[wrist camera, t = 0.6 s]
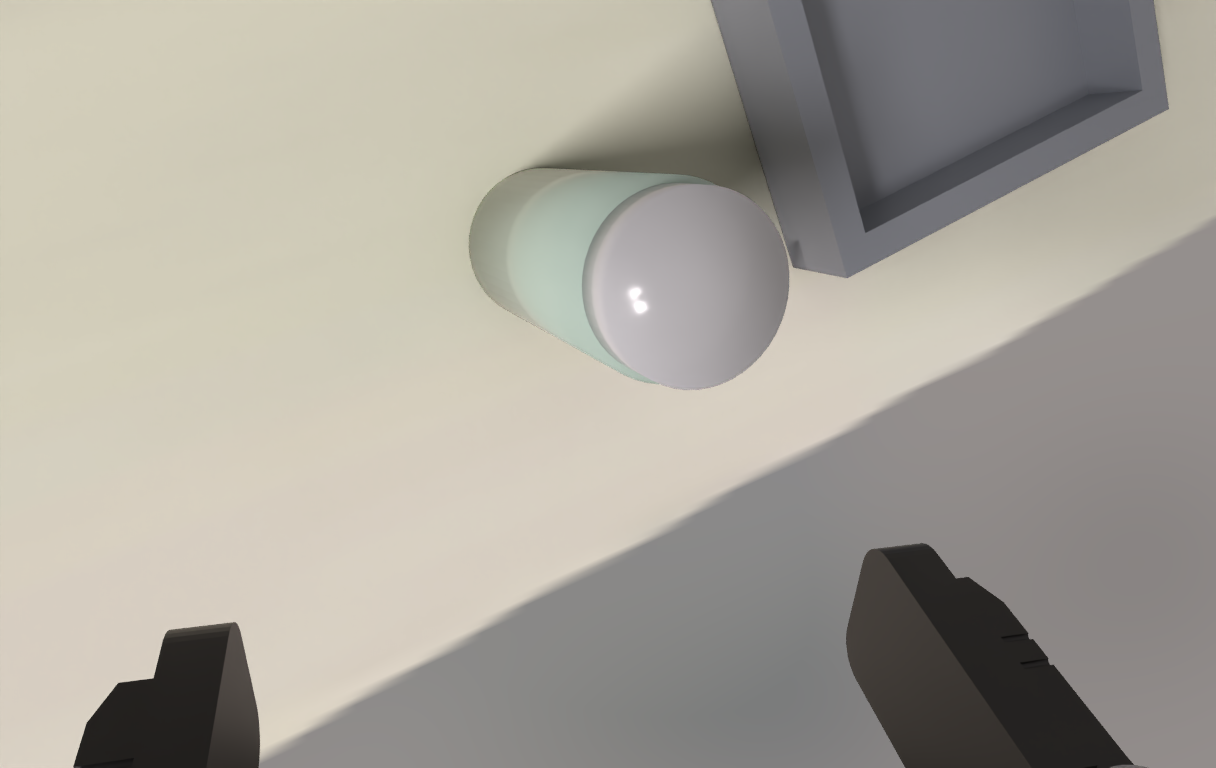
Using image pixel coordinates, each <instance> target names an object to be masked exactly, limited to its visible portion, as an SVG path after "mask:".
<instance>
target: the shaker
mask: <svg viewBox="0 0 1216 768" xmlns="http://www.w3.org/2000/svg"><path fill="white" fill-rule="evenodd" d="M469 253H470V260H471V264H472V268H473V271H474V273H475V276H476V278H477V280H478V282H479V284H480V285H481V287H482V288H483V290H484V291H485V293H486V294H487V295H488V296H489V297H490V298H491V299H492V300H493V301H494V302H495V303H497V304H498V305H499V306H501V307H502V308H504V309H505V310H507V311H509V312H511V313H512V314H514V315H516V316H518V317H520V318H521V319H523V320H525V321H527V322H529V323H531V324H532V325H534V326H536V327H538V328H540V329H541V330H543V331H545V332H547V333H549V334H551V335H552V336H554V337H556V338H558V339H560V340H561V341H563V342H565V343H567V344H569V345H571V346H572V347H574V348H576V349H578V350H580V351H581V352H583V353H585V354H587V355H589V356H591V357H592V358H594V359H596V360H598V361H600V362H601V363H603V364H605V365H607V366H609V367H611V368H612V369H614V370H616V371H618V372H620V373H621V374H623V375H626V376H628V377H630V378H632V379H635V380H638V381H642V382H646V383H653V384H661V385H663V386H667V387H671V388H674V389H682V390H699V389H705V388H710V387H714V386H717V385H720V384H723V383H725V382H727V381H729V380H731V379H733V378H735V377H736V376H738V375H739V374H741V373H743V372H744V371H745V370H746V369H748V368H749V367H750V366H751V365H752V364H753V363H754V362H755V361H756V360H757V359H758V358H759V357H760V356H761V355H762V354H763V352H764V351H765V350H766V349H767V347H768V346H769V344H770V343H771V341H772V340H773V338H774V336H775V335H776V332H777V330H778V328H779V326H780V324H781V321H782V318H783V315H784V312H785V309H786V304H787V300H788V292H789V267H788V259H787V255H786V251H785V247H784V244H783V242H782V239H781V236H780V234H779V232H778V231H777V229H776V227H775V225H774V223H773V222H772V221H771V219H770V218H769V216H768V215H767V214H766V213H765V212H764V211H763V210H762V209H761V208H760V207H759V206H758V205H757V204H756V203H755V202H753V201H752V200H751V199H750V198H748V197H746V196H744V195H743V194H741V193H739V192H737V191H734V190H732V189H729V188H725V187H721V186H717V185H715V184H714V183H712V182H709V181H707V180H704V179H702V178H699V177H694V176H690V175H680V174H661V173H639V172H618V171H597V170H575V169H554V168H533V169H528V170H523V171H520V172H517V173H515V174H512V175H510V176H509V177H507V178H505V179H503V180H502V181H501V182H499V183H498V184H497V185H495V186H494V187H493V188H492V189H491V190H490V191H489V192H488V194H487V195H486V196H485V197H484V199H483V200H482V202H481V203H480V205H479V207H478V209H477V211H476V213H475V215H474V218H473V221H472V225H471V229H470V235H469Z"/></svg>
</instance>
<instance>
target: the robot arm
mask: <svg viewBox="0 0 1216 768" xmlns="http://www.w3.org/2000/svg"><path fill="white" fill-rule="evenodd" d="M846 645H847V653H848V658H849V662H850V666H851V669H852V671H853V674H854V676H855V678H856V680H857V682H858V684H859V685H860V687H861V689H862V691H863V692H864V694H865V696H866V698H867V700H868V702H869V703H870V705H871V707H872V709H873V711H874V712H875V714H876V716H877V718H878V720H879V721H880V723H881V725H882V727H883V728H884V730H885V732H886V734H887V735H888V737H889V739H890V741H891V743H892V745H893V746H894V748H895V750H896V752H897V754H898V755H899V757H900V759H901V761H902V763H903V764H904V766H905V768H1147V767H1143V766H1137V765H1134V764H1133V763H1132V762H1131V761H1130V760H1129V759H1128V757H1127V756H1126V755H1125V754H1124V752H1123V751H1122V750H1121V749H1120V747H1119V746H1118V745H1117V744H1116V742H1115V741H1114V740H1113V739H1112V737H1111V736H1110V735H1109V734H1108V732H1107V731H1106V730H1105V729H1104V728H1103V726H1102V725H1101V724H1100V722H1099V721H1098V720H1097V719H1096V717H1095V716H1094V715H1093V714H1092V713H1091V711H1090V710H1089V709H1088V708H1087V706H1086V705H1085V704H1084V703H1083V701H1082V700H1081V699H1080V697H1079V696H1078V695H1077V694H1076V692H1075V691H1074V690H1073V689H1072V687H1071V686H1070V685H1069V684H1068V682H1067V681H1066V680H1065V679H1064V677H1063V676H1062V675H1061V674H1060V672H1059V671H1058V670H1057V669H1056V667H1055V666H1054V665H1050V664H1049V662H1048V657H1047V656H1046V655H1045V654H1044V652H1043V651H1042V650H1041V649H1040V647H1039V646H1038V645H1037V643H1036V642H1035V641H1034V640H1033V639H1031V640H1030V639H1029V638H1028V632H1027V631H1026V630H1025V629H1024V627H1023V626H1022V625H1021V624H1020V622H1019V621H1018V620H1017V618H1016V617H1015V616H1014V615H1013V614H1012V612H1011V611H1010V610H1009V608H1008V607H1007V606H1006V605H1005V604H1004V602H1002V601H1001V600H1000V599H998V598H997V597H996V596H994V595H993V594H991V593H990V592H988V591H987V590H986V589H984V588H983V587H981V586H980V585H978V584H977V583H976V582H974V581H973V580H972V579H970V578H969V577H965V578H957V579H956V578H955V577H954V575H953V574H952V573H951V571H950V570H949V569H948V567H947V566H946V565H945V563H944V562H943V561H942V560H941V558H940V557H939V556H938V554H937V553H936V552H935V551H934V549H932V548H931V547H930V546H929V545H927V544H923V543H920V544H912V545H904V546H895V547H887V548H878V549H871V550H870V551H868V552H867V554H866V556H865V558H864V560H863V564H862V568H861V572H860V577H859V581H858V585H857V590H856V594H855V598H854V602H853V606H852V611H851V615H850V619H849V623H848V627H847V634H846ZM259 754H260V732H259V718H258V711H257V705H256V701H255V696H254V692H253V687H252V683H251V678H250V673H249V669H248V664H247V660H246V655H245V651H244V646H243V641H242V637H241V633H240V629H239V626H238V625H237V623H236V622H233V623H225V624H216V625H208V626H199V627H191V628H182V629H174V630H169V631H167V633H166V634H165V637H164V639H163V643H162V647H161V651H160V655H159V659H158V663H157V667H156V671H155V675H154V679H146V680H138V681H130V682H122V683H118V684H117V685H116V687H115V688H114V689H113V691H112V692H111V693H110V694H109V696H108V697H107V698H106V699H105V701H104V702H103V703H102V704H101V706H100V707H99V708H98V709H97V711H96V712H95V713H94V715H93V716H92V717H91V718H90V720H89V721H88V722H87V724H86V727H85V730H84V734H83V737H82V740H81V743H80V747H79V750H78V753H77V756H76V760H75V763H74V766H73V767H74V768H258V766H259Z"/></svg>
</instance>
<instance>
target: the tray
mask: <svg viewBox="0 0 1216 768" xmlns="http://www.w3.org/2000/svg"><path fill="white" fill-rule="evenodd" d="M711 2H712V5H713V8H714V12H715V15H716V18H717V21H718V25H719V28H720V31H721V34H722V38H723V41H724V44H725V47H726V51H727V54H728V57H729V60H730V64H731V67H732V70H733V73H734V76H735V80H736V83H737V86H738V89H739V93H740V96H741V99H742V102H743V106H744V109H745V112H746V115H747V119H748V122H749V125H750V128H751V132H752V135H753V138H754V141H755V145H756V148H757V151H758V154H759V158H760V161H761V164H762V167H763V171H764V174H765V177H766V180H767V183H768V187H769V190H770V193H771V196H772V200H773V203H774V206H775V209H776V213H777V216H778V219H779V222H780V226H781V229H782V232H783V235H784V239H785V242H786V245H787V248H788V252H789V255H790V258H791V261H792V265H793V267H794V268H799V269H804V270H809V271H814V272H819V273H824V274H829V275H834V276H839V277H844V278H848V277H850V276H852V275H854V274H856V273H858V272H860V271H862V270H864V269H865V268H867V267H869V266H871V265H873V264H875V263H877V262H879V261H881V260H883V259H884V258H886V257H888V256H890V255H892V254H894V253H896V252H898V251H900V250H902V249H903V248H905V247H907V246H909V245H911V244H913V243H915V242H917V241H919V240H921V239H922V238H924V237H926V236H928V235H930V234H932V233H934V232H936V231H938V230H940V229H941V228H943V227H945V226H947V225H949V224H951V223H953V222H955V221H957V220H959V219H960V218H962V217H964V216H966V215H968V214H970V213H972V212H974V211H976V210H978V209H979V208H981V207H983V206H985V205H987V204H989V203H991V202H993V201H995V200H996V199H998V198H1000V197H1002V196H1004V195H1006V194H1008V193H1010V192H1012V191H1014V190H1015V189H1017V188H1019V187H1021V186H1023V185H1025V184H1027V183H1029V182H1031V181H1033V180H1034V179H1036V178H1038V177H1040V176H1042V175H1044V174H1046V173H1048V172H1050V171H1052V170H1053V169H1055V168H1057V167H1059V166H1061V165H1063V164H1065V163H1067V162H1069V161H1071V160H1072V159H1074V158H1076V157H1078V156H1080V155H1082V154H1084V153H1086V152H1088V151H1090V150H1091V149H1093V148H1095V147H1097V146H1099V145H1101V144H1103V143H1105V142H1107V141H1109V140H1110V139H1112V138H1114V137H1116V136H1118V135H1120V134H1122V133H1124V132H1126V131H1127V130H1129V129H1131V128H1133V127H1135V126H1137V125H1139V124H1141V123H1143V122H1145V121H1146V120H1148V119H1150V118H1152V117H1154V116H1156V115H1158V114H1160V113H1162V112H1164V111H1165V110H1167V109H1169V106H1168V99H1167V92H1166V85H1165V78H1164V71H1163V64H1162V57H1161V50H1160V43H1159V36H1158V29H1157V22H1156V15H1155V8H1154V2H1153V0H711Z"/></svg>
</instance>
